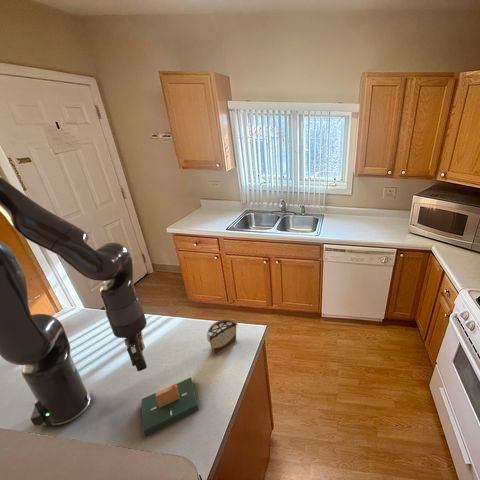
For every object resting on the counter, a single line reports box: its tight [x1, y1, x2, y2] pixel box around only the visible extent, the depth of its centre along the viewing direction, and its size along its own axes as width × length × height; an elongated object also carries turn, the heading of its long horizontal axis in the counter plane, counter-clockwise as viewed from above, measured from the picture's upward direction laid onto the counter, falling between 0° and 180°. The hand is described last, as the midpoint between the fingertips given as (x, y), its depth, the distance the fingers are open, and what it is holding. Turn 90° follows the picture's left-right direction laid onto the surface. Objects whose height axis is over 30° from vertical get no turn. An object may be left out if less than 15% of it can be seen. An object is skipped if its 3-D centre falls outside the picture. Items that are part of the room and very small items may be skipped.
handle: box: [154, 383, 180, 408], centre depth 77 cm, size 6×1×5 cm, turn 125°
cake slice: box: [206, 318, 238, 357], centre depth 100 cm, size 12×6×10 cm, turn 141°
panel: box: [141, 377, 199, 437], centre depth 78 cm, size 14×11×3 cm
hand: (141, 358), depth 75 cm, fingers open, 8 cm apart
